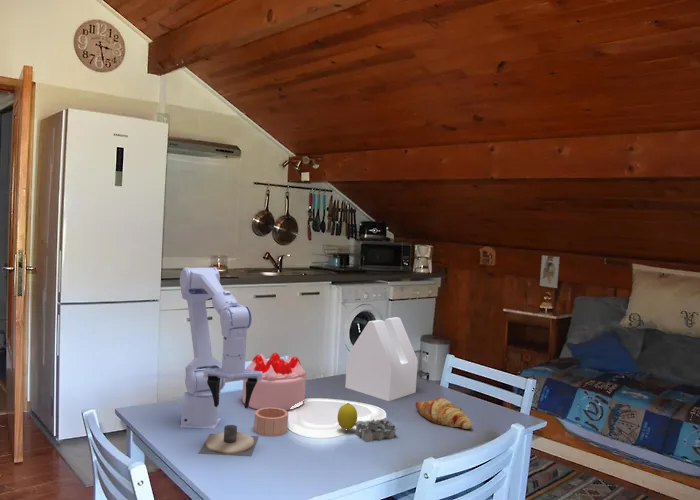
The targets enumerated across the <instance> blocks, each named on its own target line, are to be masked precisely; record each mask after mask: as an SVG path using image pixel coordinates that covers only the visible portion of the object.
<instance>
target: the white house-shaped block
mask: <svg viewBox="0 0 700 500" xmlns="http://www.w3.org/2000/svg"><path fill="white" fill-rule="evenodd" d="M416 355H417V354H416V353H415V350H414V347H413V345H412V343H411V340H410V338H409V336H408V333H407V331H406V329H405V326H404V324H403V321H402V319H401V317H397V316H394V317H389V318H385V320H382V319H376V320H375V319H374V320H369V321H368V322H367V323H366V325H365V326H364V328H363V330H362V331H361V333H360V335H359V336H358V337H357V339H356V341H355V342H354V344H353V345H352V347H351V349H350V350H349V352H348V354H347V356H346V370H345V371H346V372H345V386H344V387H345V388H346V389H349V390H352V391H355V392H358V393H362V394H365V395H368V396H372V397H374V398H377V399H380V400H384V401H387V402H391V401H394V400H398V399H400V398H403V397H405V396H409V395H412V394H416V392H417V378H418V375H417V374H418V364H419V363H418V362H419V361H418V358H417V356H416Z"/></svg>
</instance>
